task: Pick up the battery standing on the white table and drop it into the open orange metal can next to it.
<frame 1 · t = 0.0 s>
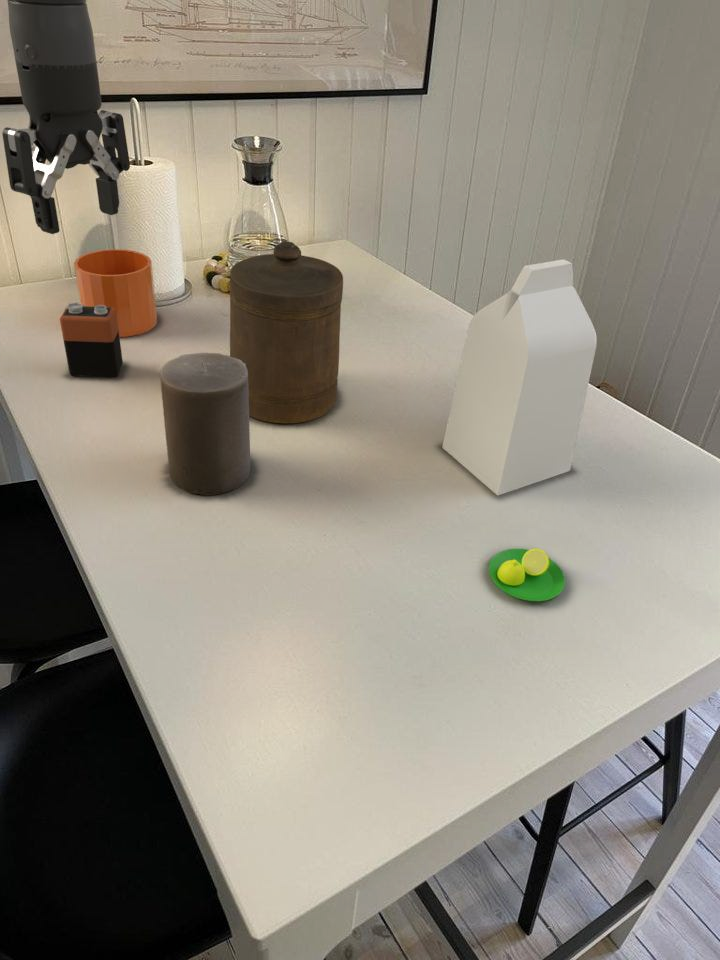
hand: (80, 222, 83), 26 cm above the table, tool pointing down, fingers open, 8 cm apart
plate of lemons: (525, 579, 80), on the table
wooden container: (284, 398, 107), on the table
milk: (505, 460, 98), on the table
battery: (97, 371, 109), on the table
pillar candle: (210, 472, 91), on the table
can: (120, 321, 122), on the table
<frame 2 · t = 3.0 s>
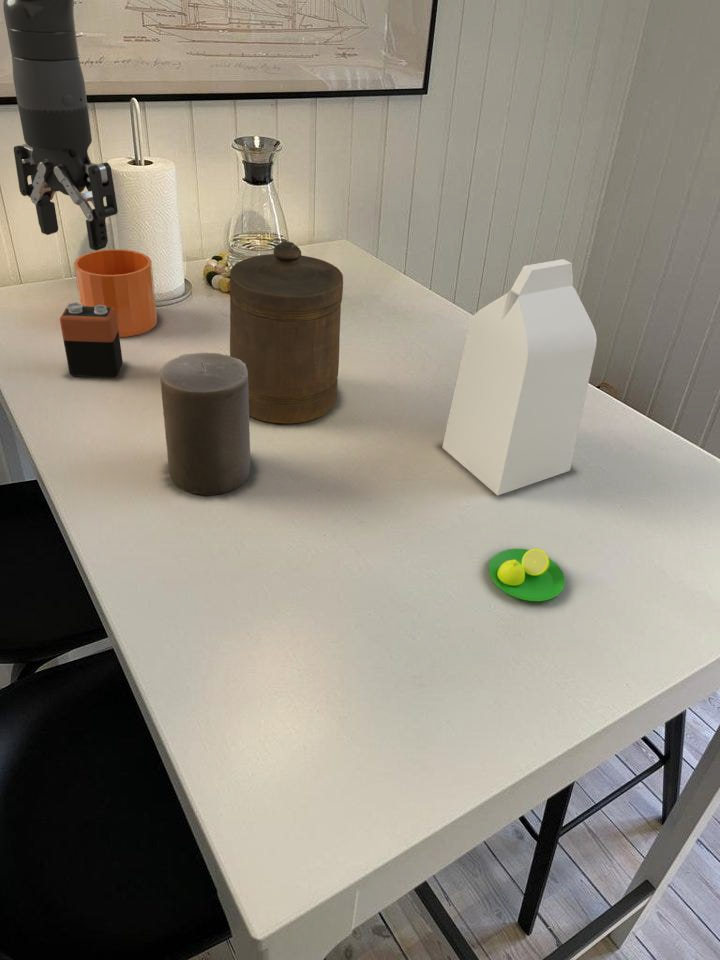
hand: (73, 240, 96), 20 cm above the table, tool pointing down, fingers open, 8 cm apart
nothing on the table moved.
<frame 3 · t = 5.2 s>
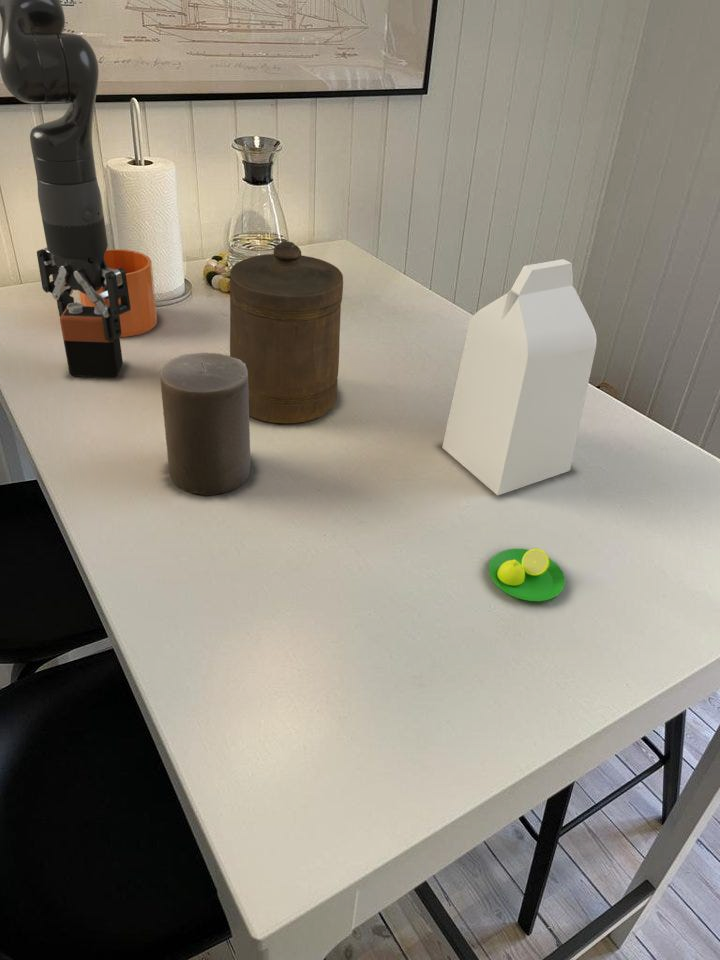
hand: (91, 331, 106), 6 cm above the table, tool pointing down, fingers closed on battery, 8 cm apart
battery: (97, 371, 109), on the table, touching gripper
everything else where it was.
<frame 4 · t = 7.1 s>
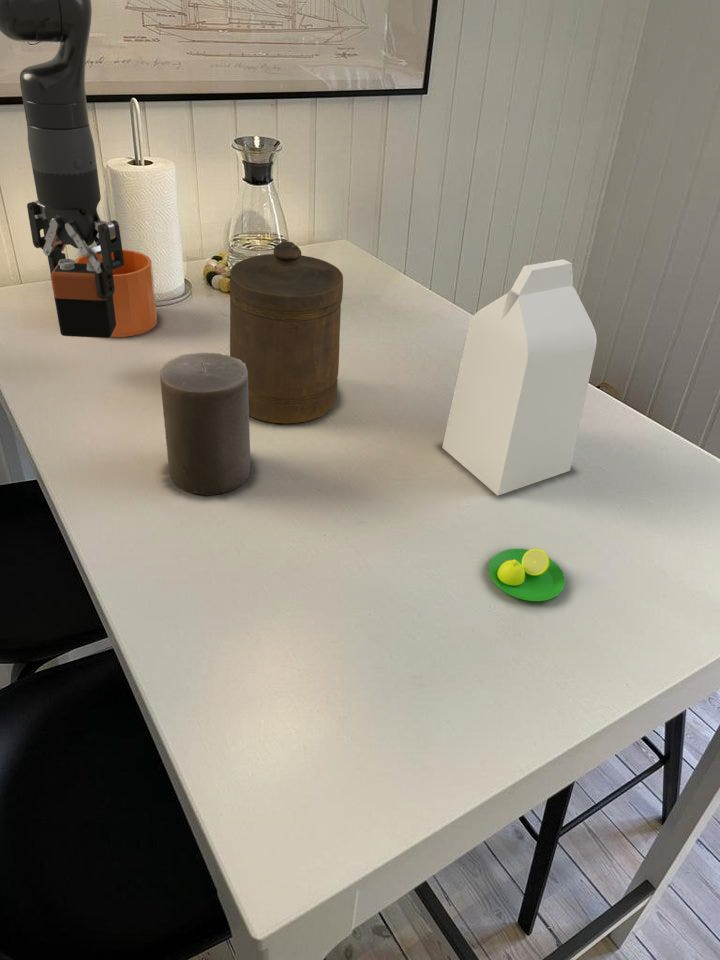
hand: (83, 289, 102), 12 cm above the table, tool pointing down, fingers closed on battery, 8 cm apart
battery: (89, 332, 106), point 6 cm above the table, touching gripper
everything else where it was.
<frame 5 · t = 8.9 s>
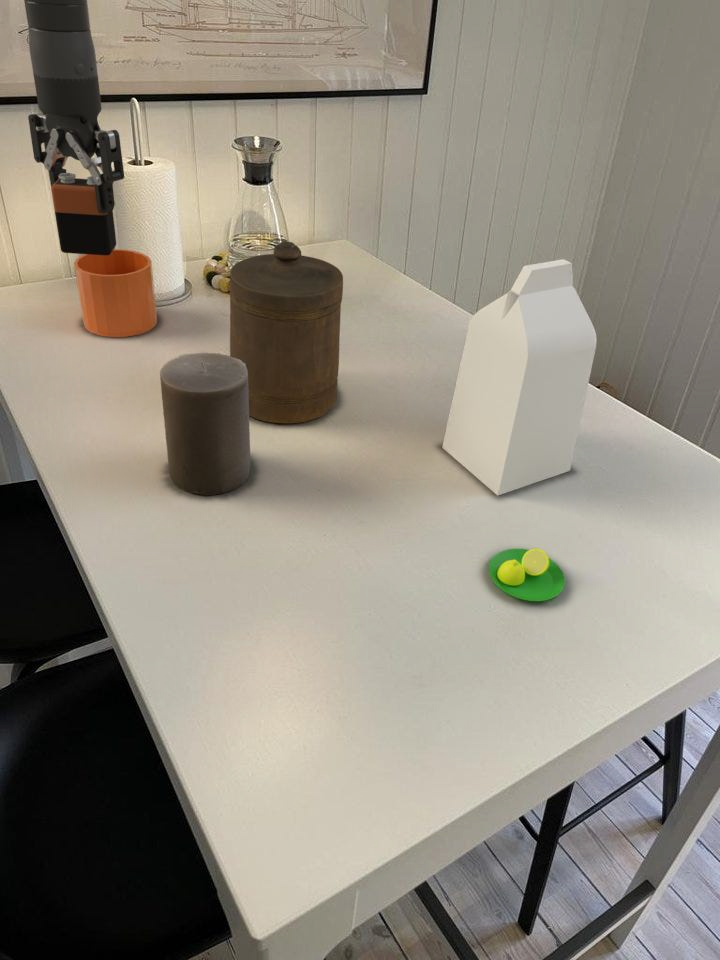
hand: (83, 204, 102), 21 cm above the table, tool pointing down, fingers closed on battery, 8 cm apart
battery: (89, 251, 106), point 15 cm above the table, touching gripper
everything else where it was.
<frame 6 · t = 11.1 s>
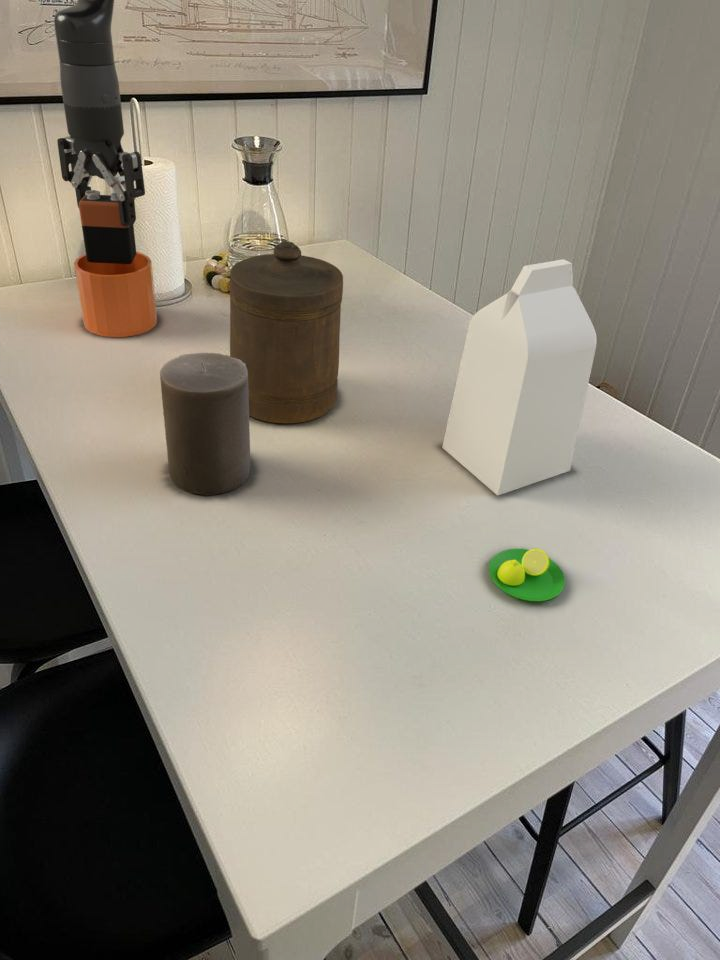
hand: (107, 218, 113), 17 cm above the table, tool pointing down, fingers closed on battery, 8 cm apart
battery: (112, 260, 116), point 10 cm above the table, touching gripper
everything else where it was.
when the fingers open (13 cm above the table, at t = 12.9 s): battery drops 6 cm, resting on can.
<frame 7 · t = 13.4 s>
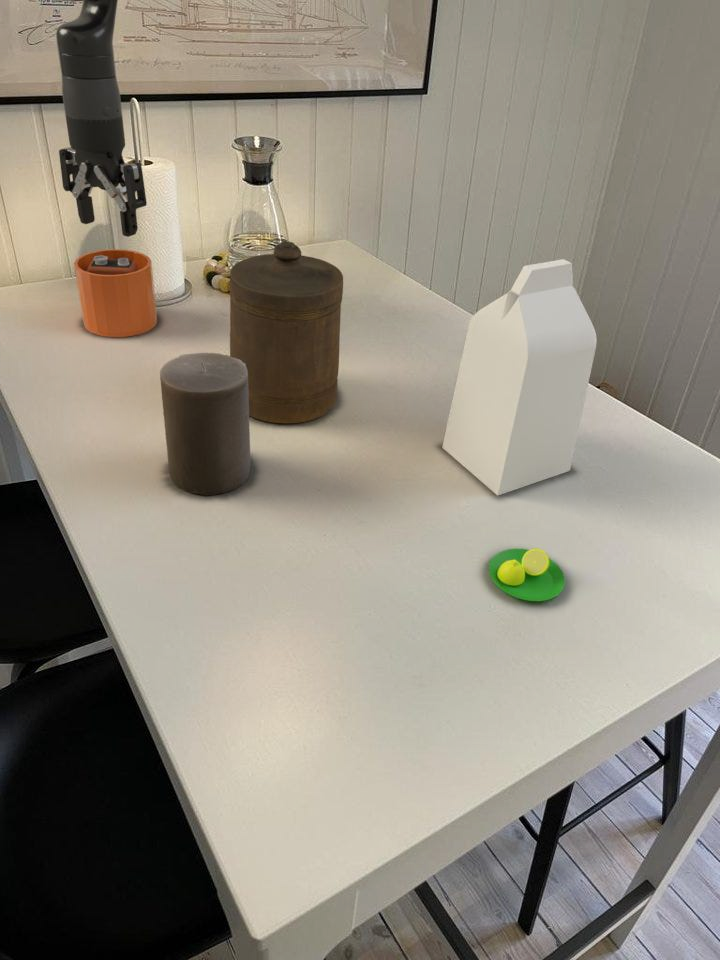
hand: (108, 228, 113), 15 cm above the table, tool pointing down, fingers open, 8 cm apart
battery: (119, 319, 122), resting on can
everything else where it was.
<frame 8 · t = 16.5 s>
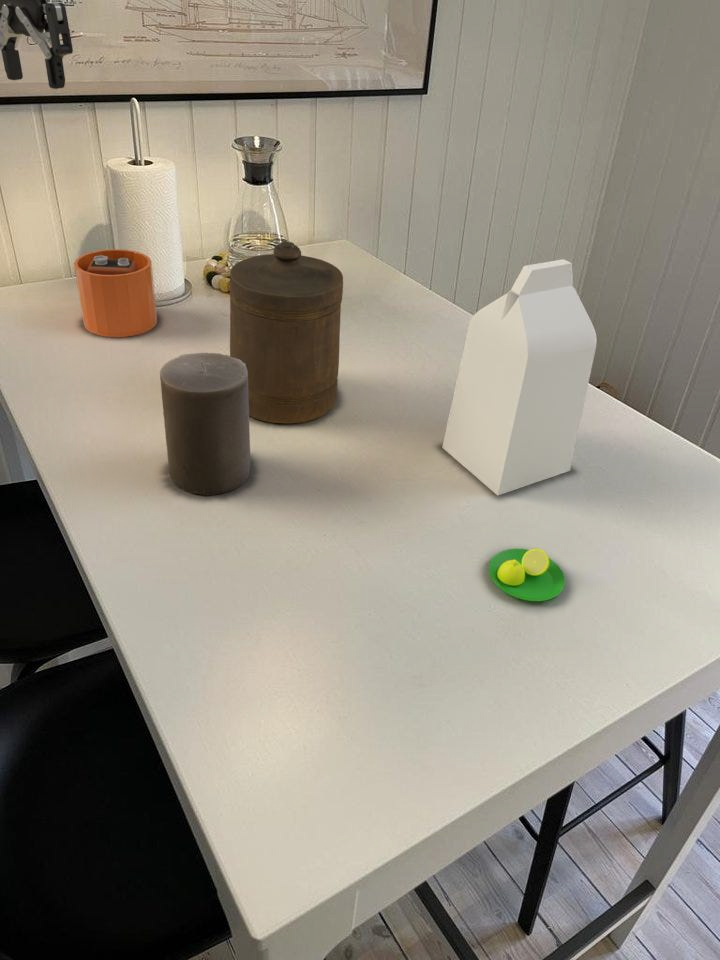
hand: (36, 83, 108), 33 cm above the table, tool pointing down, fingers open, 8 cm apart
nothing on the table moved.
at the end: battery inside the target area in the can (0.2 cm from its centre), point 0.4 cm above the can's base; the gripper is holding nothing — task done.
